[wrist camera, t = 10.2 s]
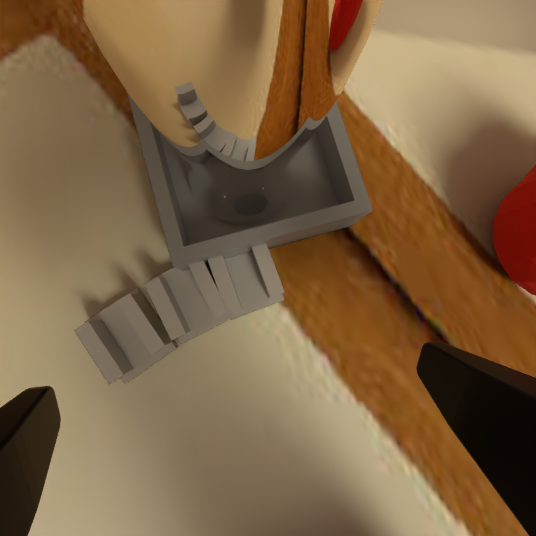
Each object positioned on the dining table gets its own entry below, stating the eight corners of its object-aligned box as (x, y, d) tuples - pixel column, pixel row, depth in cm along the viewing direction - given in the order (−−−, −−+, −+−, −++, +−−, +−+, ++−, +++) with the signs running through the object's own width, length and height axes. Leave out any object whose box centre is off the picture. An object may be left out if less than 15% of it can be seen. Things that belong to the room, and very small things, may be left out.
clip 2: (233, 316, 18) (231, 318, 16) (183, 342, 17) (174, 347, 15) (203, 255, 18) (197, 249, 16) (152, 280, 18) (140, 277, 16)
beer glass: (159, 151, 18) (-284, -615, 3) (263, 99, 19) (323, -713, 4) (218, 254, 17) (39, -45, 2) (322, 196, 18) (660, -294, 3)
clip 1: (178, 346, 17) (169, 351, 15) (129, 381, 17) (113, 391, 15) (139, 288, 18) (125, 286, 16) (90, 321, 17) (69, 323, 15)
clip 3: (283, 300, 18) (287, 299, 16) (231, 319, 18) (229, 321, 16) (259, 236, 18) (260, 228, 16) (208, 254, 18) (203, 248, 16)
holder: (353, 225, 19) (372, 210, 16) (185, 271, 18) (172, 265, 15) (303, 72, 20) (312, 31, 17) (141, 108, 19) (121, 72, 16)
